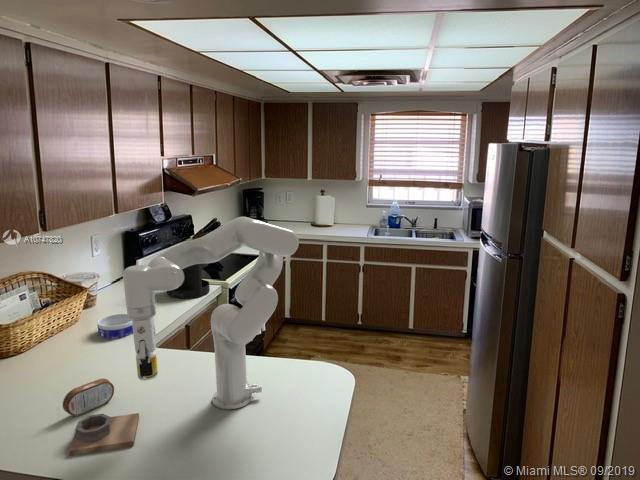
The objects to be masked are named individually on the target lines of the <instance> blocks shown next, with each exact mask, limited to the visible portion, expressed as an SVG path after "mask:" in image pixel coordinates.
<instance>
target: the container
mask: <svg viewBox="0 0 640 480" xmlns="http://www.w3.org/2000/svg"><path fill="white" fill-rule="evenodd" d="M208 265H209V263H203V264H195V265H191V266H188V267H186V268H184V269H182V271H183V273H184V281H183V283H182V284H181V286H179V287H178V288H176V289H174V290H168V291H165V292H166V294H167V295H168V296H169V297H172V298H175V299H194V298H198V297H201V296H204V295H206V294H208V293H209V292H210V291H211V290H210V289H211V288H210V287H211V286H210V281H208V280H206V279H203V273H202V272H203V271H202V269H203V268H206V267H207V266H208Z"/></svg>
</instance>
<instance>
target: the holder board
mask: <svg viewBox="0 0 640 480" xmlns="http://www.w3.org/2000/svg"><path fill="white" fill-rule="evenodd" d="M139 420H140V413H138V412H137V413H129V414H123V415H117V416H109V415H107V414H105V413H98V414H90V415H87V416H86V417H85V418H82V419H81V420H79V421H77V424H76V426H75V435H74V437H73V439H72V443H70V447H69V450H68V451H69V452H68V454H69V457H70V456H77V455H83V454H89V453H90V454H92V453H96V452H101V451H103V452H104V451H108V450H115V449H122V448H128V447H135V440H136V436H137V431H138V426H139Z"/></svg>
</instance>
